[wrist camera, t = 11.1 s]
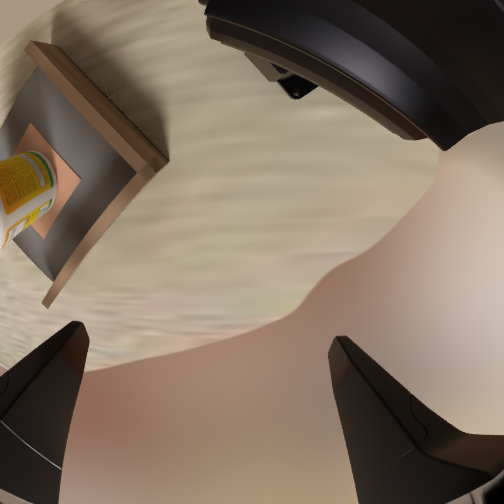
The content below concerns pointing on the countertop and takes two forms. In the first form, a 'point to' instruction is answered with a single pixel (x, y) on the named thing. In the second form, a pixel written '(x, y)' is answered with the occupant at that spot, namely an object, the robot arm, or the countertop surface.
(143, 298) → the countertop surface
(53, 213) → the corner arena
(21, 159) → the supplement bottle
